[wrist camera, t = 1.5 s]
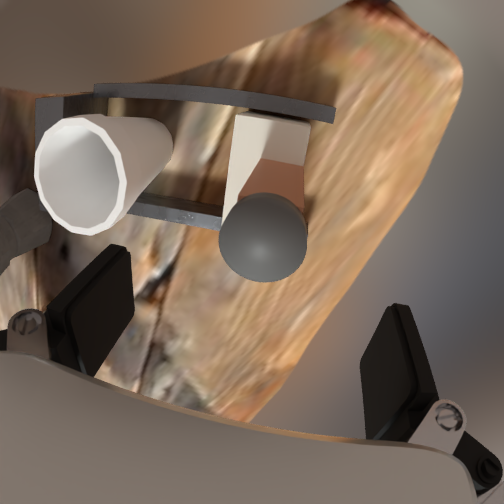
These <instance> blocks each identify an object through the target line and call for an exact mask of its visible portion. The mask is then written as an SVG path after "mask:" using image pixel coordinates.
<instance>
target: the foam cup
mask: <svg viewBox="0 0 504 504" xmlns="http://www.w3.org/2000/svg"><path fill="white" fill-rule="evenodd" d="M173 148H174V147H173V142H172V136H171V134H170V132H169V131H168V129H167V128H166V126H165V125H164V124H163V123H161V122H159V121H157V120H155V119H153V118H139V117H113V116H104V115H102V114H87V115H78V116H73V117H68V118H64V119H61V120H60V121H59V122H57V123H56V124H55V125H53V126H52V127H51V128H49V129H48V130H47V131H46V132H45V133H44V135H43V137H42V139H41V142H40V144H39V146H38V148H37V150H36V153H35V168H34V178H35V182H36V186H37V189H38V193H39V196H40V200H41V202H42V203H43V205H44V206H45V208H46V209H47V211H48V212H49V214H50V215H51V216H52V218H53V219H54V220H55V221H56V222H58V223H59V224H60V225H62V226H63V227H65V228H66V229H67V230H69V231H70V232H72V233H78V234H84V235H90V236H92V235H94V234H96V233H99V232H101V231H104V230H106V229H108V228H110V227H111V226H113V225H114V224H115V223H116V222H118V221H119V220H120V219H121V218H123V217H124V216H125V214H126V213H127V212H128V210H129V209H130V207H131V206H132V205H133V203H134V202H135V201H136V199H137V197H138V196H139V195H140V194H141V193H142V191H143V190H144V189H145V188H146V187H147V186H148V185H149V184H150V183H151V181H152V180H153V179H154V178H155V177H156V176H157V175H158V174H159V173H160V172H161V171H162V169H163V168H164V167H165V166H166V165H167V163H168V162H169V161H170V160H171V156H172V152H173Z"/></svg>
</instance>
